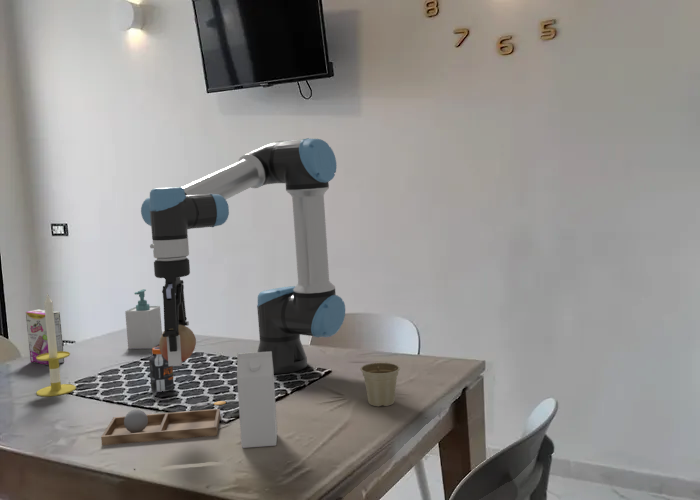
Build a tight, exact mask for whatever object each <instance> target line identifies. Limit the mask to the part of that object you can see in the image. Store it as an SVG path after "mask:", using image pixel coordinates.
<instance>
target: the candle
mask: <svg viewBox="0 0 700 500" xmlns="http://www.w3.org/2000/svg"><path fill="white" fill-rule="evenodd" d="M46 294H47V295H46V296H45V301H44V302H43V305H44V310H45V318H46V329H47V340H48V351H49V353H45V354H41V355H39V356H37V357H36V359H37V360H40V361H49V365H48V367H49V379H50V385H48V386H45V387H43V388H40V389H38V390H37V391H36V395H37V396H39V397H47V398H48V397H58V396H63V395H66V394H69V393H72V392H74V391H76V389H77V387H76V385H74V384H71V383H70V384H68V383H67V384H66V383H62V382H61V371H60V370H61V369H60V364H59V359H62V358H64V359H65V358H68V357H70V355H71V352H69V351H66V350H65V351H64V350H63V351H58V352H57V344H56V333H55V322H54V303H53V301H52V299H51V297H50V296H49V294H48V292H46ZM73 390H74V391H73Z"/></svg>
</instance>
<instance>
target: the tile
mask: <svg viewBox="0 0 700 500" xmlns="http://www.w3.org/2000/svg"><path fill="white" fill-rule="evenodd" d="M225 404H227V402H226V401H224V400H220V401H219V400H218V401H216V402H213V405H215V406H222V405H225ZM207 405H209V403H207V402H199V403H198V402H197V403H196V404H195V405H194V406H195V407H206V406H207Z"/></svg>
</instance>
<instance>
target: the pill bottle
mask: <svg viewBox="0 0 700 500" xmlns="http://www.w3.org/2000/svg"><path fill="white" fill-rule="evenodd" d="M151 353H152V355H151V356H150V357H149V359H148V364H149V377H150V378H149V379H150V380H149V381H150V389H151V391H152V392H157V393H158V392H159V393H161V392H162V391H163V392H167V391H171V390H172V389H174V387H175V384H174V382H175V381H174V380H175V379H174V370H173V369H174V366H168V361H167V360H166V359H165V358H164V357H163V356H162V354H161V352H160V348H159V346H156V347H154V348H152V349H151Z"/></svg>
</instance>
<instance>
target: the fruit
mask: <svg viewBox="0 0 700 500" xmlns="http://www.w3.org/2000/svg"><path fill="white" fill-rule="evenodd" d="M169 330H172V329H169ZM162 334H164V331H162ZM179 335H180V345H181V360H182V363H183V362H185V361H187V360H188V359H189V358H190V357H191V356H192V355H193V353H194V351H195V349H196V345H197V338H196V335H195V333H194V332H193V330H192V329H191V328H190V327H189V326H184V325H179ZM158 347H159V348H160V352H161V354H162V356H163V357H164V358H165V359H166V360H167V361H168V351H167V337H163V335H162V336H161V338H160V342H159V345H158Z"/></svg>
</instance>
